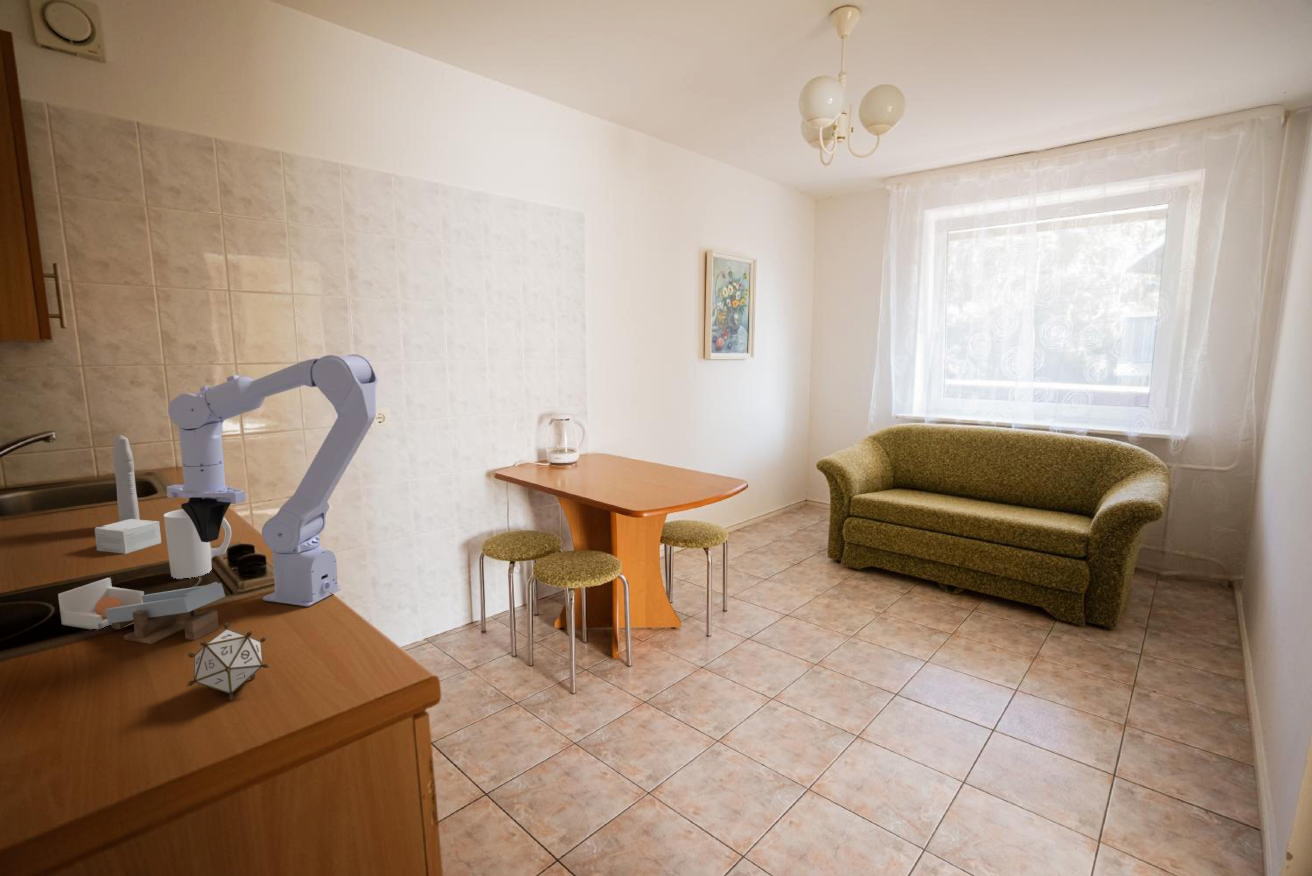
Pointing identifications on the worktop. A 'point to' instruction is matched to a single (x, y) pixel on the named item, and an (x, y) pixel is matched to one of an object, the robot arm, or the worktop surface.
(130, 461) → the tall pale column
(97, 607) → the ball
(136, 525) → the small box
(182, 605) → the lever
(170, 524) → the mug
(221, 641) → the game die
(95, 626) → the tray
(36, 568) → the worktop surface
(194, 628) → the fulcrum
